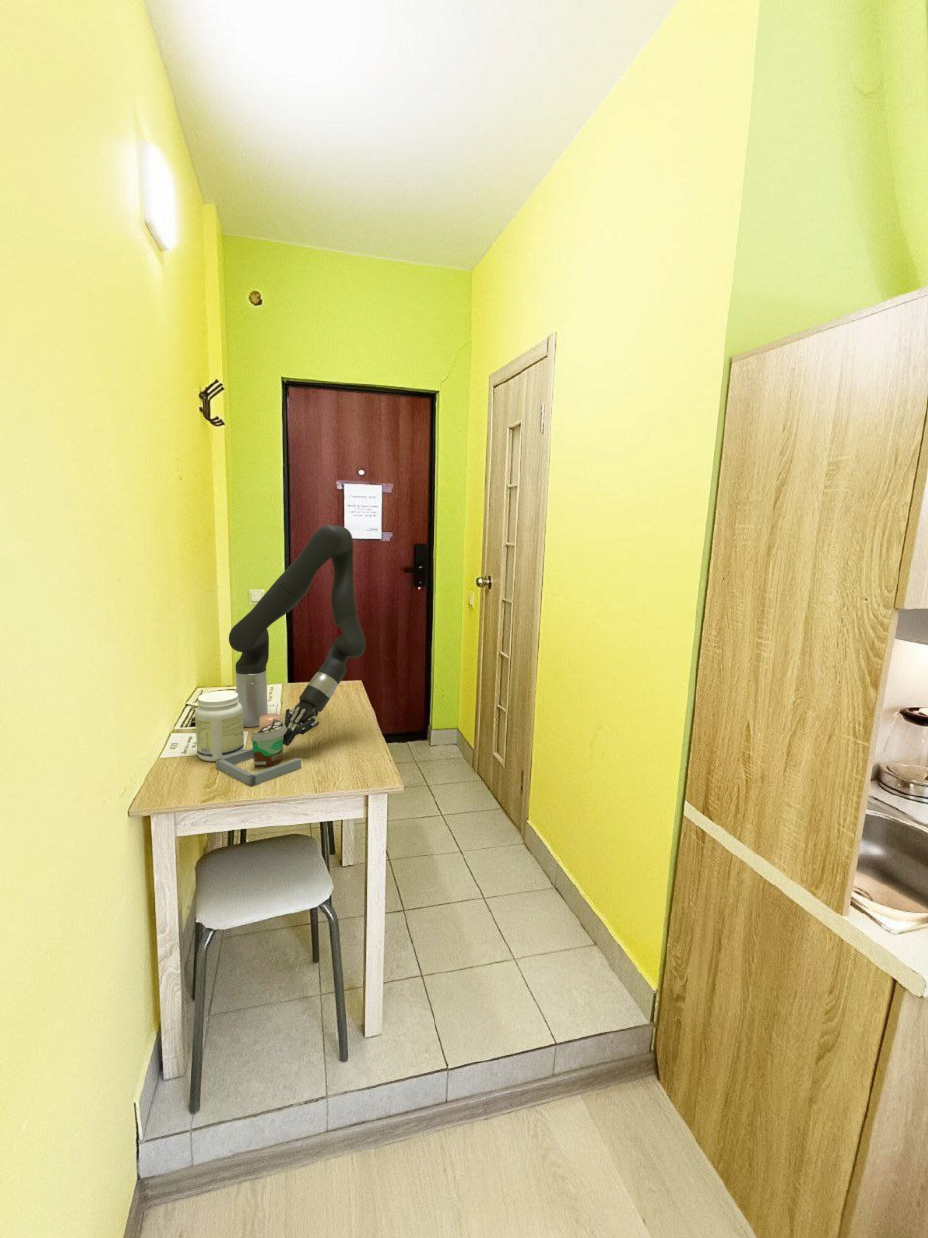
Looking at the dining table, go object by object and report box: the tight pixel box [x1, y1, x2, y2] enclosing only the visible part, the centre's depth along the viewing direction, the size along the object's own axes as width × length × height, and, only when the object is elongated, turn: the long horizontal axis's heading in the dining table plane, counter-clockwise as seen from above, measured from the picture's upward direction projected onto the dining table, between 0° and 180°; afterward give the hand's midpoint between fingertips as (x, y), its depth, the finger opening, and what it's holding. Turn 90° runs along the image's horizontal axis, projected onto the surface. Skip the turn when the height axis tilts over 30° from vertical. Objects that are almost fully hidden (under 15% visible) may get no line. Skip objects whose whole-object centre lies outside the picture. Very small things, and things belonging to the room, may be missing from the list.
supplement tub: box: [194, 690, 245, 762], centre depth 162 cm, size 12×12×17 cm
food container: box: [250, 719, 287, 769], centre depth 159 cm, size 12×6×10 cm, turn 169°
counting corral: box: [215, 747, 302, 787], centre depth 155 cm, size 16×15×2 cm
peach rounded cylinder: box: [259, 713, 282, 731], centre depth 172 cm, size 6×6×8 cm
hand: (283, 744), depth 160 cm, fingers closed
